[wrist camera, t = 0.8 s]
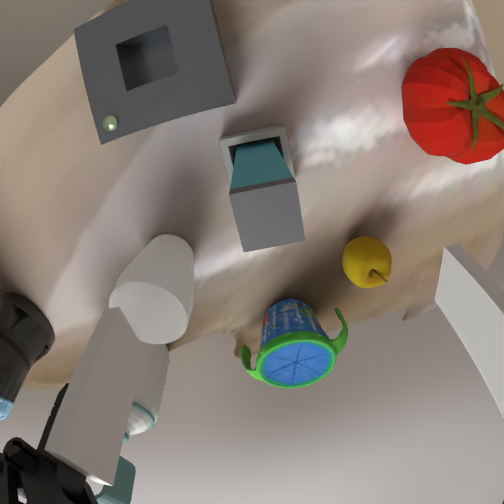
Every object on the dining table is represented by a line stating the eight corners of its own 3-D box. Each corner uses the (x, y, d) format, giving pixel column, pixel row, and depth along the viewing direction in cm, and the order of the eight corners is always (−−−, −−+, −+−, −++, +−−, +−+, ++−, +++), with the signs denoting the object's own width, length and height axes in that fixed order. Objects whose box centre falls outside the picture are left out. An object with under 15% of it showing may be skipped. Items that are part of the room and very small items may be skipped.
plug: (244, 178, 34) (243, 252, 19) (236, 146, 32) (229, 194, 17) (278, 172, 34) (304, 240, 19) (271, 139, 32) (296, 181, 17)
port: (121, 136, 31) (100, 145, 26) (96, 35, 24) (72, 29, 19) (236, 102, 29) (234, 103, 24) (209, -6, 22) (203, -23, 17)
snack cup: (329, 272, 41) (349, 322, 32) (342, 321, 46) (359, 370, 37) (227, 306, 43) (224, 358, 35) (253, 349, 48) (254, 399, 40)
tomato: (476, 89, 27) (535, 100, 16) (439, 169, 33) (494, 201, 23) (408, 28, 24) (466, 15, 14) (365, 117, 30) (416, 132, 20)
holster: (234, 193, 35) (233, 202, 32) (220, 136, 31) (218, 140, 29) (292, 181, 34) (296, 189, 32) (282, 124, 31) (285, 127, 28)
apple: (380, 256, 40) (403, 290, 33) (340, 271, 41) (356, 308, 34) (373, 218, 37) (399, 248, 30) (330, 234, 38) (347, 267, 31)
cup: (175, 212, 36) (148, 264, 25) (216, 264, 40) (207, 327, 29) (126, 246, 38) (91, 302, 28) (166, 292, 42) (147, 354, 32)
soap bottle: (94, 319, 45) (29, 481, 18) (152, 308, 44) (98, 506, 17) (129, 365, 51) (91, 511, 24) (184, 358, 50) (161, 527, 23)
